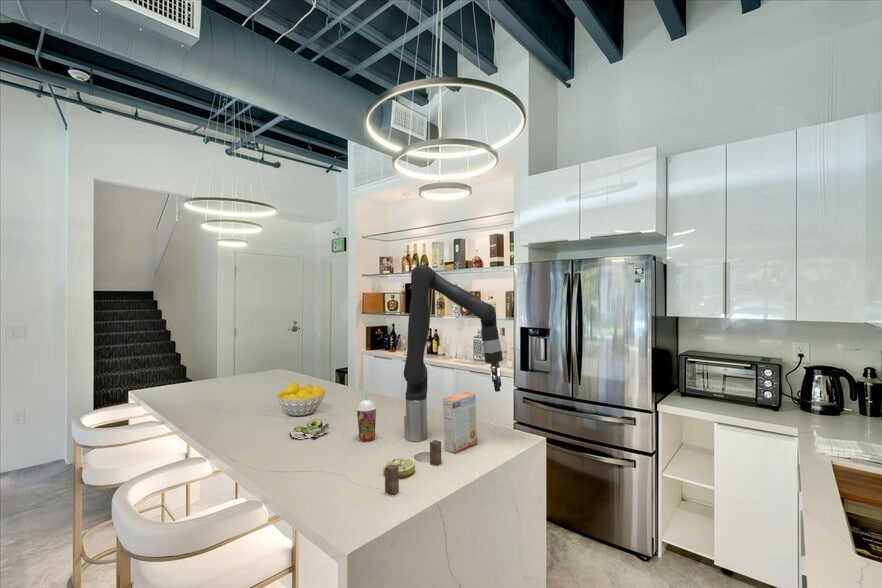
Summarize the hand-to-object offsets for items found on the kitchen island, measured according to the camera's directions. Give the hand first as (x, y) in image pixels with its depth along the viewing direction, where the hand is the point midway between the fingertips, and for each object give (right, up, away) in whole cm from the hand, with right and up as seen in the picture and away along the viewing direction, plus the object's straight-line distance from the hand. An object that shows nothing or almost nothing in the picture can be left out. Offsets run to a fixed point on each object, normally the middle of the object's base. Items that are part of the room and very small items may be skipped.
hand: (498, 389), depth 167 cm
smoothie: (-56, -24, +6) cm, 61 cm away
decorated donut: (-39, -23, -28) cm, 53 cm away
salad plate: (-85, -25, +17) cm, 90 cm away
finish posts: (-33, -22, -31) cm, 51 cm away
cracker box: (-16, -23, -5) cm, 28 cm away
